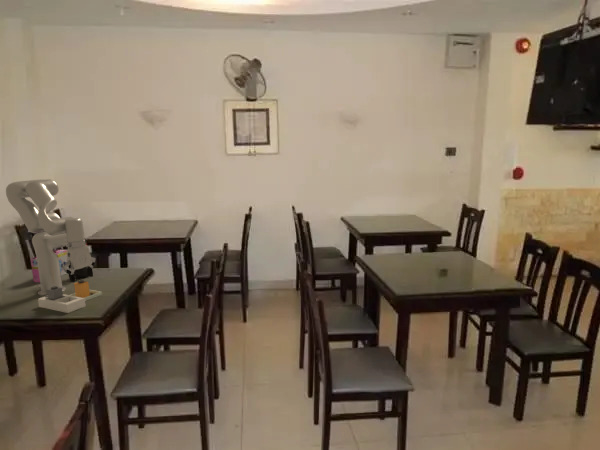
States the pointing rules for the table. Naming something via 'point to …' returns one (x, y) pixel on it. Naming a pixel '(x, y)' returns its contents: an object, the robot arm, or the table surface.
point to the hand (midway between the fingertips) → (81, 279)
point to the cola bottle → (81, 270)
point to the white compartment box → (62, 303)
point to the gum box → (62, 261)
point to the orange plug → (82, 289)
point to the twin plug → (54, 293)
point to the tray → (95, 294)
